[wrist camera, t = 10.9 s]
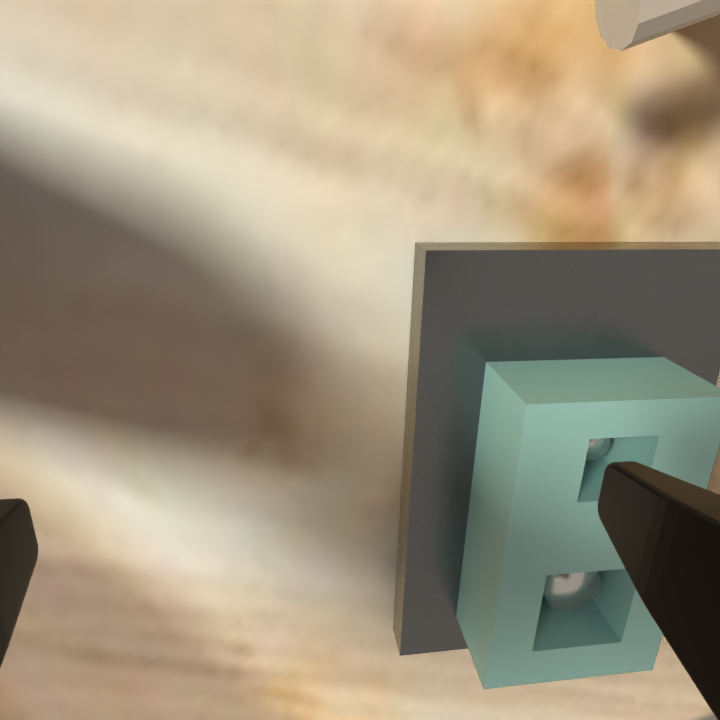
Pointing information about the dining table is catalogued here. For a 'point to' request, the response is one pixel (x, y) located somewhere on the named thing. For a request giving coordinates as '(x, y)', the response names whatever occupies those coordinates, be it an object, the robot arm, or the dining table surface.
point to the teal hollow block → (569, 509)
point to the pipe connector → (648, 19)
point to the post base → (523, 343)
